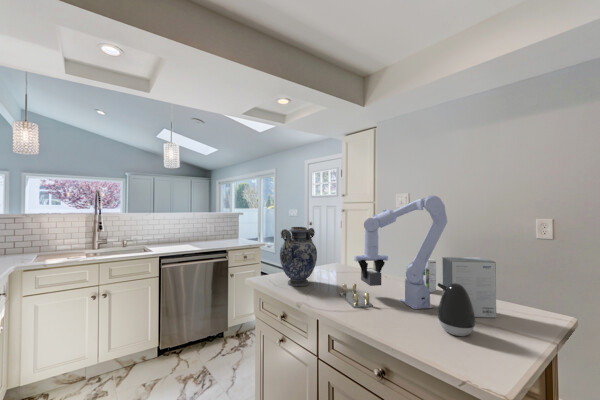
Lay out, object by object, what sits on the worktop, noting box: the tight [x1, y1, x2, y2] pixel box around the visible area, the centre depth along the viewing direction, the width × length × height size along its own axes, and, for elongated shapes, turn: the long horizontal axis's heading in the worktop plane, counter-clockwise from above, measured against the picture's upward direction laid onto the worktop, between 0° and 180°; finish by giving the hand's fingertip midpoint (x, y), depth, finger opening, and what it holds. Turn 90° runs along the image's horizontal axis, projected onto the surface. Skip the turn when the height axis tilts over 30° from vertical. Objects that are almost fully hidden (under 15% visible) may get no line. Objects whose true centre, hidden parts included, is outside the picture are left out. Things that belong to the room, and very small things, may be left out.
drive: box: [360, 267, 382, 287], centre depth 116 cm, size 9×5×5 cm, turn 11°
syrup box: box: [423, 258, 437, 293], centre depth 126 cm, size 6×6×14 cm
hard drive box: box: [441, 256, 497, 319], centre depth 100 cm, size 16×8×20 cm, turn 84°
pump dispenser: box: [437, 282, 476, 337], centre depth 85 cm, size 10×10×15 cm
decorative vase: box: [279, 226, 318, 287], centre depth 135 cm, size 21×19×28 cm
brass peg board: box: [339, 283, 374, 309], centre depth 112 cm, size 16×8×5 cm, turn 11°
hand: (371, 277), depth 116 cm, fingers closed on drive, 5 cm apart
